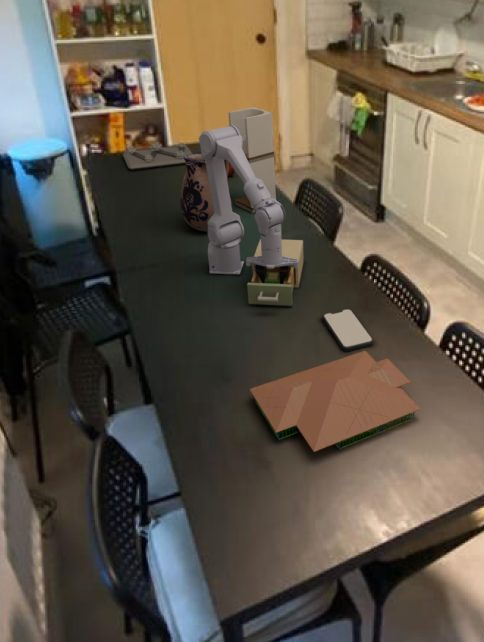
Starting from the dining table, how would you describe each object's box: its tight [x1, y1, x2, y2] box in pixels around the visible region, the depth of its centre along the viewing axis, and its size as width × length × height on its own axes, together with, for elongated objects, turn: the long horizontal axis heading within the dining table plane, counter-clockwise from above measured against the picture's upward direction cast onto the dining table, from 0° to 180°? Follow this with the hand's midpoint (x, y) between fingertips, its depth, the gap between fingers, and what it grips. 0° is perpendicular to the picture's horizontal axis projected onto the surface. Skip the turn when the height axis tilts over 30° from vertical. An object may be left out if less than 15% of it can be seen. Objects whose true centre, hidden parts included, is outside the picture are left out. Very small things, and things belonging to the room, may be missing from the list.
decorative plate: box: [122, 141, 194, 171], centre depth 256 cm, size 30×22×7 cm
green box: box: [264, 272, 280, 284], centre depth 162 cm, size 7×4×4 cm, turn 177°
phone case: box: [322, 308, 374, 352], centre depth 149 cm, size 9×2×16 cm
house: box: [249, 350, 421, 453], centre depth 123 cm, size 23×33×8 cm
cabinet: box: [251, 238, 304, 289], centre depth 172 cm, size 16×14×8 cm
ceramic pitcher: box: [179, 151, 233, 233], centre depth 196 cm, size 18×21×25 cm
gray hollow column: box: [228, 106, 277, 214], centre depth 209 cm, size 11×11×35 cm
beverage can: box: [228, 161, 236, 177], centre depth 240 cm, size 7×12×7 cm, turn 116°
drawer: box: [246, 267, 295, 306], centre depth 161 cm, size 18×12×6 cm, turn 177°
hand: (273, 287), depth 163 cm, fingers closed on green box, 4 cm apart
